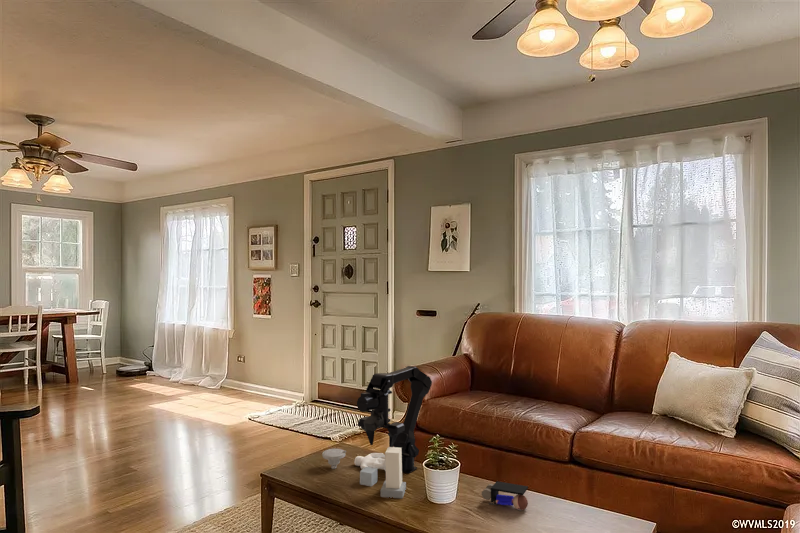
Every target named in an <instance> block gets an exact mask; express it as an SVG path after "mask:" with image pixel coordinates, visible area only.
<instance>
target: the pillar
mask: <svg viewBox="0 0 800 533" xmlns="http://www.w3.org/2000/svg"><path fill="white" fill-rule="evenodd" d="M384 455H385V458H384V459H385V461H386V471H385V481H386V488H398V489H400V486H401V484H402V482H403V472H402V448H399V447H394V446H393V447H389V446H388V447H387V449H386V451H385V452H384Z"/></svg>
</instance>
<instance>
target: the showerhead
mask: <svg viewBox="0 0 800 533" xmlns="http://www.w3.org/2000/svg"><path fill="white" fill-rule="evenodd" d="M346 453H347V450H344V449H342V448H329V449H325V450H324V451H323V452H322V454H321V455H322V458H323V459H324V460H327V464H328V465H330V466H331V467H330V468H331V469H332V470H334V469H337V466H338V465H339V464H340V462H341V460H342V459H343V458H345V457H346Z"/></svg>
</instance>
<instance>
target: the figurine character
mask: <svg viewBox="0 0 800 533" xmlns="http://www.w3.org/2000/svg"><path fill="white" fill-rule="evenodd" d="M528 489H529V486H528V485H522V484H515V483H509V482H505V481H504V482H502V481H499V480H497V481H495V483H494V484H492V483H490V484H487V486H486V487H485V488H484V489H483V490H482V491H481V496H482V498H483V499H484V500H486V501H489V500H490V502H488V505H494V506H497V505H501V506H510V507H514V508H515V509H516V510H518V511H524V510H526V509H527V507H528V506H529V505H528V504H529V501H528V498H527V496H525V493H526V492H527V491H528ZM500 492H503V493H507V494H513V495H506V494H499V493H500Z"/></svg>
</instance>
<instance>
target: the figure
mask: <svg viewBox="0 0 800 533" xmlns="http://www.w3.org/2000/svg"><path fill="white" fill-rule="evenodd" d="M354 465H355V466H356V467H360V469H361V470H362V469H364V468H365V467H371V468H377V470H384V472H386V461H385V453H383V452H372V453H369V454H368V455H365V456H360V455H358V456H356V457H355V458H354Z"/></svg>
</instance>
